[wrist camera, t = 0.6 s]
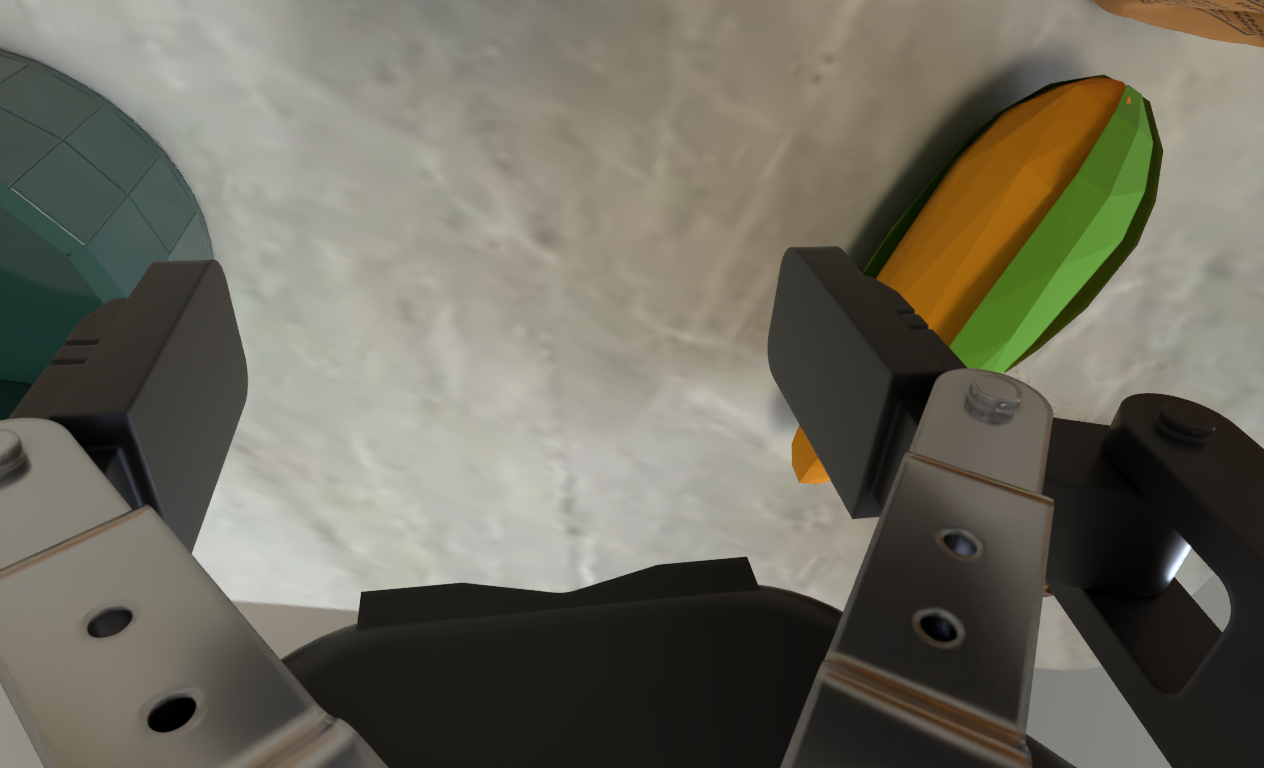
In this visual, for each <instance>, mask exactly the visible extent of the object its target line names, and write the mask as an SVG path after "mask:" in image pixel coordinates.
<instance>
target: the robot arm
mask: <svg viewBox="0 0 1264 768" xmlns="http://www.w3.org/2000/svg"><path fill="white" fill-rule="evenodd" d="M768 361H769V366H770V370H771V373H772V376H773V378H774V380H775V381H776V383H777V385H778V387H779V389H780V390H781V392H782V394H783V396H784V398H785V399H786V401H787V403H788V405H789V406H790V408H791V410H792V412H793V414H794V415H795V417H796V419H797V421H798V423H799V424H800V426H801V428H802V430H803V432H804V433H805V435H806V437H807V439H808V440H809V442H810V444H811V446H812V448H813V449H814V451H815V453H816V455H817V457H818V458H819V460H820V462H821V464H822V465H823V467H824V469H825V471H826V473H827V474H828V476H829V478H830V480H831V482H832V483H833V485H834V487H835V489H836V491H837V492H838V494H839V496H840V498H841V499H842V501H843V503H844V505H845V507H846V508H847V510H848V512H849V514H850V516H851V517H852V519H858V518H870V517H880V518H879V521H878V523H877V526H876V529H875V531H874V534H873V536H872V539H871V542H870V544H869V547H868V549H867V552H866V554H865V557H864V560H863V562H862V565H861V567H860V570H859V573H858V575H857V578H856V580H855V583H854V585H853V588H852V591H851V593H850V596H849V598H848V601H847V603H846V606H845V609H844V611H843V612H842V611H840V610H838V609H836V608H834V607H833V606H831V605H828V604H826V603H823V602H821V601H819V600H816V599H814V598H812V597H809V596H805V595H802V594H799V593H796V592H793V591H789V590H785V589H780V588H775V587H771V586H764V585H758V584H757V581H756V579H755V576H754V574H753V571H752V568H751V566H750V563H749V561H748V558H747V557H738V558H727V559H716V560H705V561H694V562H683V563H672V564H661V565H656V566H653V567H649V568H646V569H643V570H640V571H636V572H633V573H630V574H627V575H624V576H620V577H617V578H614V579H611V580H608V581H604V582H601V583H598V584H595V585H591V586H588V587H585V588H582V589H579V590H575V591H571V592H566V593H553V592H543V591H534V590H525V589H515V588H506V587H497V586H488V585H478V584H469V583H454V584H443V585H432V586H421V587H410V588H399V589H388V590H377V591H366V592H361V598H360V607H359V615H358V623H357V624H354V625H351V626H348V627H344V628H342V629H339V630H337V631H334V632H332V633H329V634H327V635H325V636H322V637H320V638H318V639H316V640H314V641H312V642H310V643H308V644H306V645H304V646H302V647H300V648H298V649H296V650H295V651H293V652H291V653H290V654H288V655H287V656H285V657H284V658H282V659H279V657H278V656H277V655H276V654H275V653H274V652H273V650H272V649H271V648H270V647H269V646H268V644H267V643H266V642H265V641H264V640H263V639H262V637H261V636H260V635H259V634H258V633H257V631H256V630H255V629H254V628H253V627H252V625H251V624H250V623H249V622H248V621H247V619H246V618H245V617H244V616H243V615H242V614H241V612H240V611H239V610H238V609H237V608H236V606H235V605H234V604H233V603H232V602H231V600H230V599H229V598H228V597H227V596H226V594H225V593H224V592H223V591H222V590H221V589H220V587H219V586H218V585H217V584H216V583H215V581H214V580H213V579H212V578H211V577H210V575H209V574H208V573H207V572H206V571H205V570H204V568H203V567H202V566H201V565H200V564H199V562H198V561H197V560H196V559H195V558H194V556H193V555H192V551H193V548H194V545H195V543H196V540H197V537H198V534H199V531H200V529H201V526H202V523H203V520H204V517H205V515H206V512H207V509H208V506H209V503H210V501H211V498H212V495H213V492H214V489H215V487H216V484H217V481H218V478H219V475H220V473H221V470H222V467H223V464H224V461H225V459H226V456H227V453H228V450H229V447H230V445H231V442H232V439H233V436H234V433H235V430H236V428H237V425H238V422H239V419H240V416H241V414H242V411H243V408H244V405H245V402H246V398H247V390H248V374H247V365H246V359H245V354H244V350H243V346H242V342H241V338H240V334H239V330H238V326H237V322H236V318H235V314H234V310H233V306H232V302H231V298H230V294H229V289H228V285H227V281H226V278H225V274H224V272H223V269H222V267H221V265H220V264H219V262H218V261H216V260H178V261H154V262H153V263H152V264H151V265H150V266H149V268H148V269H147V271H146V272H145V274H144V275H143V277H142V278H141V280H140V281H139V283H138V284H137V286H136V287H135V289H134V290H133V292H132V293H131V295H130V296H129V298H113V299H112V300H110V301H109V302H107V303H105V304H104V305H102V306H101V307H99V308H98V309H96V310H94V311H93V312H91V313H90V314H88V315H87V316H85V317H83V318H82V319H81V320H80V321H79V323H78V324H77V326H76V327H75V328H74V330H73V331H72V332H71V334H70V335H69V336H68V338H67V339H66V340H65V346H61V347H60V349H59V350H58V351H57V353H56V354H55V355H54V357H53V358H52V359H51V365H49V366H46V368H45V369H44V370H43V372H42V373H41V374H40V376H39V377H38V378H37V380H36V381H35V382H34V384H33V385H32V387H31V388H30V389H29V391H28V392H27V393H26V395H25V396H24V397H23V399H22V400H21V401H20V403H19V404H18V405H17V407H16V408H15V410H14V411H13V412H12V414H11V415H10V416H9V418H8V419H7V420H0V683H1V685H2V687H3V689H4V691H5V693H6V695H7V697H8V699H9V701H10V703H11V705H12V707H13V708H14V710H15V712H16V714H17V716H18V718H19V720H20V722H21V723H22V726H23V728H24V730H25V732H26V733H27V735H28V737H29V739H30V741H31V743H32V745H33V747H34V749H35V750H36V752H37V754H38V756H39V758H40V760H41V762H42V764H43V766H44V768H1076V767H1075V766H1073V765H1072V764H1070V763H1069V762H1067V761H1066V760H1064V759H1063V758H1061V757H1060V756H1058V755H1057V754H1055V753H1054V752H1053V751H1051V750H1049V749H1048V748H1046V747H1045V746H1044V745H1042V744H1041V743H1039V742H1038V741H1036V740H1034V739H1033V738H1032V737H1030V736H1029V735H1027V734H1026V727H1027V719H1028V711H1029V703H1030V694H1031V687H1032V679H1033V671H1034V663H1035V655H1036V647H1037V639H1038V631H1039V623H1040V615H1041V607H1042V599H1043V591H1044V583H1045V582H1046V584H1047V585H1048V587H1049V589H1050V590H1051V592H1052V593H1053V595H1054V596H1055V598H1056V599H1057V600H1058V602H1059V603H1060V605H1061V606H1062V608H1063V609H1064V611H1065V612H1066V614H1067V615H1068V617H1069V618H1070V619H1071V621H1072V622H1073V624H1074V625H1075V627H1076V628H1077V630H1078V631H1079V633H1080V634H1081V635H1082V637H1083V638H1084V640H1085V641H1086V643H1087V644H1088V646H1089V647H1090V649H1091V650H1092V652H1093V653H1094V654H1095V656H1096V657H1097V659H1098V660H1099V662H1100V663H1101V665H1102V666H1103V667H1104V669H1105V670H1106V672H1107V673H1108V675H1109V676H1110V678H1111V679H1112V681H1113V682H1114V683H1115V685H1116V687H1117V688H1118V689H1119V691H1120V692H1121V694H1122V695H1123V697H1124V698H1125V700H1126V701H1127V703H1128V704H1129V705H1130V707H1131V708H1132V710H1133V711H1134V713H1135V714H1136V716H1137V717H1138V719H1139V720H1140V721H1141V723H1142V724H1143V726H1144V727H1145V729H1146V730H1147V732H1148V733H1149V735H1150V736H1151V737H1152V739H1153V740H1154V742H1155V743H1156V745H1157V746H1158V748H1159V749H1160V751H1161V752H1162V754H1163V755H1164V756H1165V758H1166V759H1167V761H1168V762H1169V764H1170V765H1171V767H1172V768H1264V449H1263V448H1262V447H1261V446H1260V445H1258V444H1257V443H1256V442H1255V441H1254V440H1253V439H1251V438H1250V437H1249V436H1248V435H1247V434H1246V433H1244V432H1243V431H1242V430H1241V429H1240V428H1238V427H1237V426H1236V425H1235V424H1234V423H1232V422H1231V421H1230V420H1228V419H1227V418H1225V417H1224V416H1222V415H1220V414H1219V413H1217V412H1215V411H1213V410H1211V409H1209V408H1207V407H1205V406H1202V405H1200V404H1198V403H1195V402H1192V401H1189V400H1186V399H1182V398H1179V397H1175V396H1170V395H1164V394H1156V393H1144V394H1136V395H1132V396H1130V397H1127V398H1126V399H1125V400H1123V401H1122V403H1121V405H1120V407H1119V409H1118V411H1117V413H1116V415H1115V417H1114V419H1113V421H1112V423H1111V426H1108V425H1101V424H1094V423H1087V422H1080V421H1073V420H1066V419H1059V418H1054V417H1053V411H1052V408H1051V406H1050V404H1049V403H1048V401H1047V400H1046V399H1045V398H1044V397H1043V396H1042V395H1041V394H1040V393H1039V392H1038V391H1036V390H1035V389H1033V388H1032V387H1030V386H1029V385H1027V384H1025V383H1023V382H1022V381H1020V380H1017V379H1015V378H1013V377H1010V376H1007V375H1004V374H1001V373H998V372H994V371H989V370H983V369H972V368H967V366H966V365H965V364H964V363H963V362H962V361H961V360H960V359H959V358H958V357H957V356H956V354H955V353H954V352H953V351H952V350H951V349H950V348H949V347H948V346H947V345H946V344H945V342H944V341H943V340H942V339H941V338H940V337H939V336H938V335H937V334H936V333H935V332H934V330H933V329H929V325H928V324H927V323H926V322H925V321H924V320H923V318H922V317H921V316H920V315H919V314H915V310H914V309H913V308H912V307H911V305H910V304H909V303H908V302H907V301H906V300H905V299H904V298H903V297H902V296H901V295H900V293H899V292H897V291H895V290H894V289H892V288H890V287H888V286H887V285H885V284H883V283H881V282H880V281H878V280H876V279H874V278H873V277H866V276H865V275H864V274H863V273H862V272H861V271H860V269H859V268H858V267H857V266H856V265H855V264H854V263H853V261H852V260H851V259H850V258H849V257H848V256H847V255H846V254H845V252H844V251H843V250H842V249H841V248H840V247H838V246H825V247H790V248H788V249H787V250H786V252H785V254H784V256H783V259H782V262H781V267H780V273H779V278H778V284H777V290H776V296H775V301H774V307H773V313H772V318H771V324H770V330H769V336H768ZM1191 548H1192V549H1193V550H1194V551H1195V552H1196V553H1197V554H1198V555H1199V556H1200V557H1201V558H1202V559H1203V561H1204V562H1205V563H1206V564H1207V565H1208V566H1209V567H1210V568H1211V569H1212V570H1213V571H1214V573H1215V574H1216V575H1217V576H1218V577H1219V578H1220V580H1221V581H1222V582H1223V584H1224V585H1225V588H1226V590H1227V592H1228V595H1229V598H1230V604H1231V615H1230V620H1229V623H1228V625H1227V627H1226V628H1225V630H1224V631H1223V633H1222V632H1221V631H1220V630H1219V628H1218V627H1217V626H1216V625H1215V624H1214V623H1213V621H1212V620H1211V619H1210V618H1209V617H1208V616H1207V614H1206V613H1205V612H1204V611H1203V610H1202V609H1201V608H1200V606H1199V605H1198V604H1197V603H1196V602H1195V600H1194V599H1193V598H1192V597H1191V596H1190V595H1189V593H1188V592H1187V591H1186V590H1185V589H1184V588H1183V586H1182V585H1181V584H1180V583H1179V582H1178V581H1177V579H1176V578H1175V577H1174V575H1175V574H1176V572H1177V570H1178V569H1179V567H1180V566H1181V564H1182V562H1183V561H1184V559H1185V557H1186V556H1187V554H1188V553H1189V551H1190V549H1191Z"/></svg>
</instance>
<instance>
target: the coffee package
mask: <svg viewBox="0 0 1264 768" xmlns="http://www.w3.org/2000/svg"><path fill="white" fill-rule="evenodd" d="M1093 1H1094V2H1095V3H1096V4H1098V5H1099V6H1100V7H1101V8H1103V9H1104V10H1106V11H1108V12H1109V13H1112V14H1115V15H1118V16H1122V17H1128V18H1133V19H1135V20H1138V21H1141V22H1144V23H1147V24H1150V25H1154V26H1157V27H1161V28H1166V29H1170V30H1175V31H1179V32H1184V33H1188V34H1192V35H1196V36H1200V37H1204V38H1208V39H1212V40H1219V41H1225V42H1232V43H1241V44H1248V45H1253V46H1257V47H1263V48H1264V0H1093Z"/></svg>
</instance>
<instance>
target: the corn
mask: <svg viewBox="0 0 1264 768" xmlns="http://www.w3.org/2000/svg"><path fill="white" fill-rule="evenodd" d="M1162 155H1163V148H1162V145H1161V141H1160V137H1159V134H1158V130H1157V127H1156V123H1155V119H1154V116H1153V112H1152V108H1151V105H1150V101H1148V100H1147V99H1145V98H1144V97H1142V94H1140V93H1139V92H1137V91H1136V90H1135V89H1133V88H1132V87H1130V86H1129V85H1127V86H1126V85H1125V84H1124V83H1123V82H1121V81H1118V80H1114V79H1112V78H1110V77H1108V76H1106V75H1097V76H1092V77H1086V78H1080V79H1074V80H1068V81H1062V82H1057V83H1051V84H1049V85H1047V86H1045V87H1043V88H1041V89H1040V90H1038V91H1036V92H1034V93H1032V94H1031V95H1029V96H1027V97H1025V98H1023V99H1022V100H1020V101H1018V102H1016V103H1014V104H1013V105H1011V106H1009V107H1007V108H1005V109H1003V110H1002V111H1000V112H999V113H997V114H996V115H995V116H994V117H993V118H992V119H991V120H989V121H988V122H987V123H986V124H985V125H984V126H983V127H981V128H980V129H979V130H978V131H977V132H976V133H975V134H973V135H972V136H971V137H970V138H969V139H968V140H967V141H965V142H964V143H963V144H962V145H961V146H960V147H959V148H958V149H957V150H956V151H955V152H954V154H953V155H952V156H951V157H950V158H949V160H948V161H947V162H946V163H945V164H944V166H943V167H942V168H941V169H940V170H939V172H938V173H937V174H936V175H935V176H934V178H933V179H932V180H931V181H930V182H929V184H928V185H927V186H926V187H925V189H924V190H923V191H922V192H921V193H920V195H919V196H918V197H917V198H916V199H915V201H914V202H913V203H912V204H911V205H910V207H909V208H908V209H907V210H906V211H905V213H904V214H903V215H902V216H901V217H900V219H899V220H898V221H897V222H896V224H895V225H894V226H893V227H892V229H891V230H890V232H889V233H888V235H887V236H886V238H885V239H884V240H883V242H882V243H881V245H880V246H879V248H878V249H877V251H876V252H875V254H874V255H873V257H872V258H871V260H870V261H869V263H868V264H867V266H866V267H865V269H864V270H863V272H862V273H863V274H864V275H865V276H866V277H873V278H874V279H876V280H878V281H880V282H881V283H883V284H885V285H887V286H888V287H890V288H892V289H894V290H895V291H897V292H899V293H900V295H901V296H902V297H903V298H904V299H905V300H906V301H907V302H908V303H909V304H910V305H911V307H912V308H913V309H914V310H915V314H919V315H920V316H921V317H922V318H923V320H924V321H925V322H926V323H927V324H928V325H929V329H933V330H934V332H935V333H936V334H937V335H938V336H939V337H940V338H941V339H942V340H943V341H944V342H945V344H946V345H947V346H948V347H949V348H950V349H951V350H952V351H953V352H954V353H955V354H956V356H957V357H958V358H959V359H960V360H961V361H962V362H963V363H964V364H965V365H966V366H967V368H972V369H983V370H989V371H994V372H998V373H1001V374H1002V373H1003V372H1007V371H1009V370H1010V369H1012V368H1013V367H1014V366H1016V365H1017V364H1019V363H1020V362H1021V361H1023V360H1024V359H1026V358H1027V357H1028V356H1030V355H1031V354H1033V353H1034V352H1035V351H1037V350H1038V349H1039V348H1041V347H1042V346H1043V345H1044V344H1045V343H1047V342H1048V341H1049V340H1050V339H1051V338H1052V337H1054V336H1055V335H1056V334H1057V333H1058V332H1059V331H1061V330H1062V329H1063V328H1064V327H1065V326H1066V325H1068V324H1069V323H1070V322H1071V321H1072V320H1074V319H1075V318H1076V317H1077V316H1078V315H1079V314H1081V313H1082V312H1083V311H1084V310H1085V309H1086V308H1087V307H1088V306H1089V304H1090V303H1091V302H1092V301H1093V299H1094V298H1095V297H1096V296H1097V294H1098V293H1099V292H1100V291H1101V290H1102V288H1103V287H1104V286H1105V285H1106V283H1107V282H1108V281H1109V280H1110V278H1111V277H1112V276H1113V275H1114V273H1115V272H1116V271H1117V270H1118V268H1119V267H1120V266H1121V265H1122V263H1123V262H1124V261H1125V260H1126V258H1127V257H1128V256H1129V255H1130V253H1131V252H1132V251H1133V250H1134V248H1135V247H1136V246H1137V245H1138V242H1139V240H1140V237H1141V235H1142V233H1143V230H1144V228H1145V226H1146V223H1147V221H1148V218H1149V216H1150V214H1151V211H1152V209H1153V207H1154V204H1155V202H1156V196H1157V189H1158V182H1159V176H1160V169H1161V162H1162ZM792 466H793V469H794V471H795V473H796V476H797V478H798V480H799V483H812V484H819V483H823V482H827V481H831V480H830V478H829V476H828V474H827V473H826V471H825V469H824V467H823V465H822V464H821V462H820V460H819V458H818V457H817V455H816V453H815V451H814V449H813V448H812V446H811V444H810V442H809V440H808V439H807V437H806V435H805V433H804V432H803V430H802V428H801V426H800V425H799V428H798V430H797V432H796V435H795V437H794V439H793V442H792Z"/></svg>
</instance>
